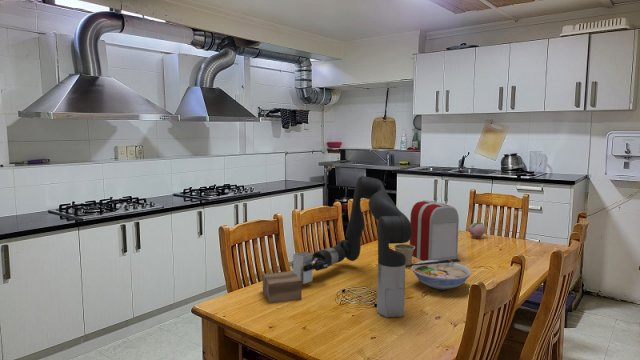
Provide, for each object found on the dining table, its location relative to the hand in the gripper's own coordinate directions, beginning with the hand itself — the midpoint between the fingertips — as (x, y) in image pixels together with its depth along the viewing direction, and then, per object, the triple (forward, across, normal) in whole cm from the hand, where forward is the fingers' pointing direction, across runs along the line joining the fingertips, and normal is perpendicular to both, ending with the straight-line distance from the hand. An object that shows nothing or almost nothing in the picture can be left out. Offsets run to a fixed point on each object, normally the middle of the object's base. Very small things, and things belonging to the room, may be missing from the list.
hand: (298, 267), depth 173 cm
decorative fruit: (-124, +24, +8) cm, 127 cm away
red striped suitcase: (-73, +22, +8) cm, 76 cm away
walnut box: (+11, +1, +8) cm, 13 cm away
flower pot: (-53, +18, +8) cm, 56 cm away
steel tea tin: (-3, 0, +6) cm, 7 cm away
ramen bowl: (-37, +42, +8) cm, 57 cm away
